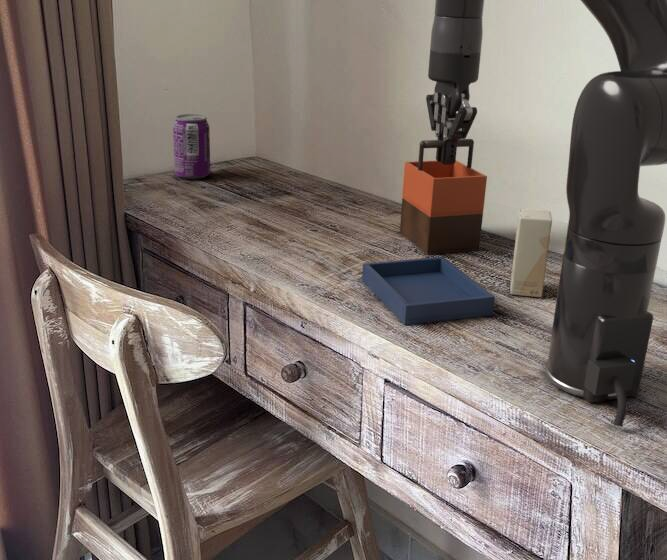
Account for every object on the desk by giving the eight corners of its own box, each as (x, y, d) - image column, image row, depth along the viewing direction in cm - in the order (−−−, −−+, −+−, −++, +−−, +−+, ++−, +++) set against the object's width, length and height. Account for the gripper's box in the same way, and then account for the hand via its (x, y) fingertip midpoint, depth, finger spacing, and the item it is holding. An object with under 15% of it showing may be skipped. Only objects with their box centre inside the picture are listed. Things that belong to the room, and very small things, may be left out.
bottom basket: (479, 250, 129) (483, 213, 126) (427, 254, 126) (430, 217, 124) (448, 229, 138) (451, 194, 136) (399, 232, 135) (402, 197, 133)
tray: (492, 315, 105) (495, 296, 104) (404, 325, 101) (406, 306, 100) (441, 273, 119) (442, 256, 118) (361, 280, 115) (362, 263, 114)
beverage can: (217, 175, 165) (216, 116, 161) (194, 182, 160) (192, 121, 155) (191, 170, 169) (189, 112, 164) (167, 176, 163) (165, 117, 159)
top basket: (483, 213, 126) (491, 146, 122) (429, 217, 124) (435, 148, 120) (452, 194, 136) (458, 131, 132) (401, 197, 133) (406, 133, 129)
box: (541, 298, 111) (552, 221, 107) (509, 295, 112) (519, 218, 107) (540, 284, 116) (551, 210, 112) (509, 281, 116) (519, 207, 112)
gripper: (413, 43, 126) (406, 154, 132) (453, 53, 114) (442, 174, 120) (457, 43, 128) (448, 152, 134) (500, 53, 116) (487, 172, 122)
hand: (445, 162), depth 127 cm, fingers closed on top basket, 1 cm apart
